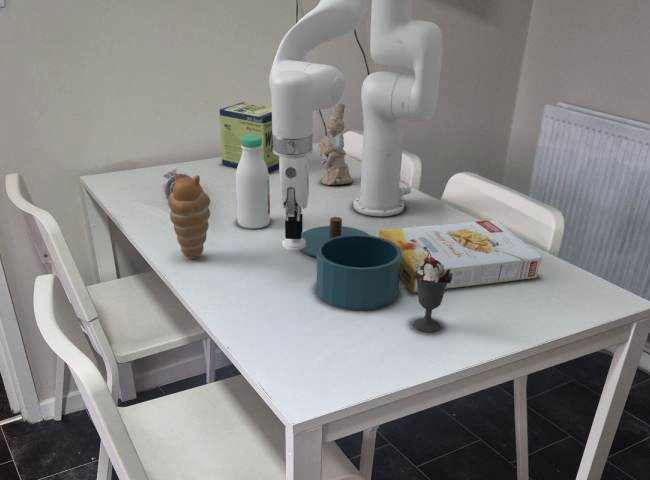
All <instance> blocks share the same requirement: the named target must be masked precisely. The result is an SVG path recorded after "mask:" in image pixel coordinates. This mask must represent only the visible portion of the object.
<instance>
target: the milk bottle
mask: <svg viewBox="0 0 650 480" xmlns="http://www.w3.org/2000/svg"><path fill="white" fill-rule="evenodd" d="M261 144H262V139H261V137H260V136H256V135H247V136H243V137H242V138H241V148H242V156H241V159H240V162H239V164H238V167H237V168H236V170H235V172H236V173H235V191H236V192H235V194H236V195H235V197H236V216H237V217H236V219H237V223H238V225H239V226H240V227H243V228H246V229H262V228H265V227H267V226H268V225H269V224H270V222H271V197H270V196H271V195H270V190H271V189H270V174H269V172H268V169H267V166H266V164H265V162H264V159H263V157H262V154H261V148H262V146H261Z"/></svg>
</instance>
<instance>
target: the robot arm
mask: <svg viewBox="0 0 650 480" xmlns="http://www.w3.org/2000/svg"><path fill="white" fill-rule="evenodd" d="M368 2H369V0H319V2H318V4H317V5H316V7H314V8H313V9H312V10H310V11H309V12H307V13H306V14H305V15H304V16H302V17H301V18H300V19H299V20H298V21H297V22H296V23H295V24H294V25H293V26H292V27H291V28H289V30H288V31H287V32H286V33H285V35H284V36H283V38H282V39H281V42H280V44H279V46H278V48H277V51H276V54H275V57H274V60H273V62H272V66H271V69H270V71H269V78H268V79H269V81H268V84H269V90H270V97H271V98H270V99H271V101H270V102H271V107H272V136H273V153H274V154H275V155H278V156H279V168H278V169H279V170H278V171H279V191H280V192H279V194H280V195H279V197H280V205H281V207H282V209H285V219H284V239H285V238H286V239H301V233H303V232H304V230H303V213H302V209H306V208H307V206H308V201H309V194H310V186H309V185H310V184H309V182H310V181H309V179H310V178H309V156H310V155H311V154H313V153H314V150H313V149H314V111H319V110H326V109H330V108H333V107H334V106H335V104H337V103H340V101H341V99H342V97H343V96H344V93H345V89H346V82H345V81H346V80H345V77H344V75H343V73H342V72H341V71H340V69H338V68H337V67H335V66H333V65H330V64H322V63H315V62H310V61H309V62H308V61H303V59H304V58H305V56H306V55H307V54H308V53H309V52H310V51H312V50H313V49H315V48H316V47H318V46H320V45H322V44H324V43H327V42H330V41H333V40H335V39H338V38H340V37H343V36H345V35H348V34H351V32H353V31H355V30H356V29H358V27H359V25H360V23H361V21H362V18H363V15H364V13H365V10H366V7H367V4H368ZM412 3H413V0H371V13H370V35H369V36H370V37H369V51H370V57H371V59H372V61H373V62H374V63H375V64H378V65H380V66H386V67H392V68H401V69H407V70H408V69H409V70H413V72H414V74H410V73H404V72H395V71H386V70H385V71H384V70H381V71H374V72H372V73H370V74H368V75H367V76H366V77H365V79H364V80H363V82H362V85H361V89H360V96H361V97H360V99H361V100H360V101H361V108H362V118H363V119H362V121H363V130H362V131H363V134H362V138H363V139H362V153H361V155H362V156H361V170H360V171H361V172H360V173H361V175H360V190H359V191H360V192H359V194H360V195H359V197H357V198H356V199H354V200H353V204H352V207H353V209H354V210H355V211H356V212H358V213H360V214H362V215H366V216H370V217H371V216H373V217H391V216H395V215H398V214H401V213H402V212H403V211H404V209H405V202H404V201H402V197H403V196H405V195H409V194H411V193H412V188H411V186H409V185H405V186H402V187H400V185H401V171H402V162H403V161H402V160H403V151H404V149H403V148H404V132H403V129H402V126H401V124H400V122H399V120H403V121H411V122H421V123H422V122H427V121H429V120H430V119H432V117H433V116H434V114H435V112H436V110H437V105H438V101H439V92H440V84H441V83H440V82H441V71H442V64H443V63H442V61H443V51H444V41H443V39H444V38H443V33H442V30H441V29H440V27H439V25H437V24H436V23H434V22H431V21H427V20H417V19H416V20H415V19H413V18H412V5H413V4H412ZM295 209H297V211H295Z"/></svg>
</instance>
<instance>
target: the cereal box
mask: <svg viewBox="0 0 650 480" xmlns="http://www.w3.org/2000/svg"><path fill="white" fill-rule="evenodd" d="M378 237H380V238H384V239H386V240H389V241H391V242H393V243H394V244H396V245H397V246H398V247H399V248H400V249H401V253H402V260H401V271H400V281H401V282H402V283H403V284H404V285H405V287H406V288H407V290H409V292H410V293H411V294H413V293H418V283H417V280H416V279H415V278H414V272H416V271H417V270H418V269H419V267H420V266H421V265H422V264H423V263H424V259H425V258H427V256H428V253H429V252H430V254H431V257H432V258H434V259H435V260H437V261H439V262H441V263H442V264H443V266H444V270H445V271H447V270H449V269H450V273H451V274H452V280H451V283H447V285H446V288H445V290H447V289H456V288H462V287H471V286H479V285H486V284H495V283H504V282H505V283H506V282H511V281H520V280H531V279H537V278H538V274H539V269H540V265H541V262H542V255H541V254H540V253H538V252H537V251H536V250H535V249H533V248H532V247H531V246H529V245H528V244H527V243H525V241H523V240H521V239H520V238H519V236H516V235H515V234H514V233H513V232H511V231H510V230H509V229H507V227H505V226H503V225H502V224H501V223H500V222H498V221H497V220H496V219H491V220H490V219H489V220H478V221H467V222H457V223H446V224H434V225H433V224H432V225H422V226H413V227H412V226H411V227H402V228H391V229H379V230H378ZM423 247H427V249H428V250H429V252H427V251H428V250H427V249H426V250H427V251H426V250H425V249H424V248H423ZM430 254H429V256H428V258H431V257H430Z"/></svg>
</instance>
